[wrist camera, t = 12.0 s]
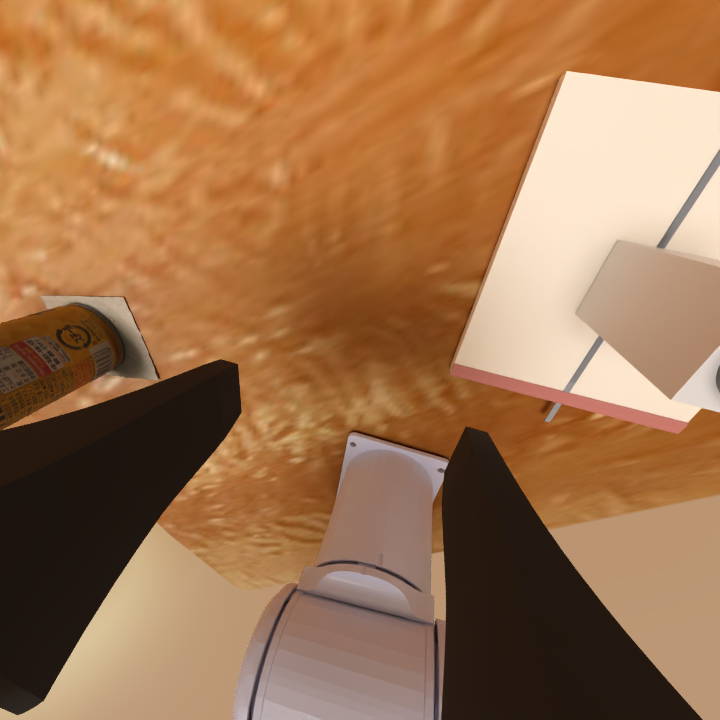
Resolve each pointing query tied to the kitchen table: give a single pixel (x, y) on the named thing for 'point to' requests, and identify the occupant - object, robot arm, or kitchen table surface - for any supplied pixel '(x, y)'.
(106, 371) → the condiment
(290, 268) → the kitchen table surface
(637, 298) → the white bottle
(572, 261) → the notepad
